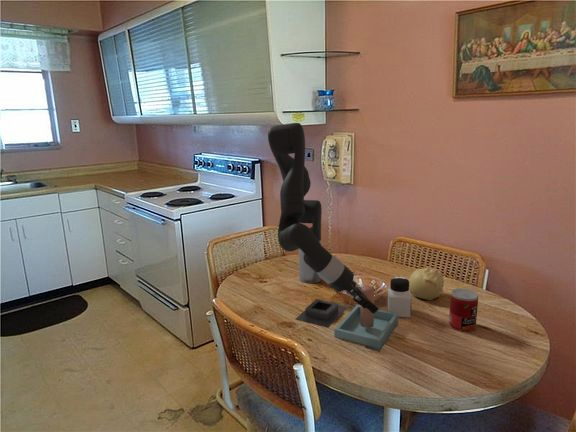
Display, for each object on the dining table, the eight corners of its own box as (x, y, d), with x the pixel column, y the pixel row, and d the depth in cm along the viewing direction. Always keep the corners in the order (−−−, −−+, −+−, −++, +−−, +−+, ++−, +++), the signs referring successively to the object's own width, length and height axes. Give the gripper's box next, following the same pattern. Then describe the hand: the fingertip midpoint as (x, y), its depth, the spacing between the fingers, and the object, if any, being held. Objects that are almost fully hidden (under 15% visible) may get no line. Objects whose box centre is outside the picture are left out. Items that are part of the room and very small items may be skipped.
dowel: (363, 320, 129) (363, 284, 126) (375, 323, 127) (376, 287, 124) (358, 325, 126) (359, 289, 123) (371, 329, 124) (371, 292, 121)
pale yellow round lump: (439, 305, 143) (440, 276, 140) (404, 298, 149) (405, 270, 146) (446, 293, 152) (447, 265, 150) (413, 287, 158) (414, 260, 156)
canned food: (464, 334, 124) (466, 301, 121) (443, 323, 131) (445, 291, 128) (481, 328, 127) (484, 295, 124) (460, 317, 134) (462, 286, 131)
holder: (316, 302, 148) (316, 293, 147) (347, 309, 142) (347, 300, 141) (294, 322, 135) (294, 312, 134) (328, 330, 129) (327, 320, 128)
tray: (356, 314, 138) (356, 305, 137) (397, 323, 131) (398, 313, 130) (334, 339, 123) (334, 329, 122) (379, 351, 116) (380, 340, 115)
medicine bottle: (410, 318, 135) (412, 284, 132) (388, 316, 136) (389, 283, 133) (408, 308, 142) (410, 275, 139) (387, 306, 143) (388, 274, 140)
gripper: (348, 272, 114) (390, 309, 118) (338, 256, 128) (376, 289, 132) (329, 291, 115) (371, 327, 119) (322, 272, 129) (359, 305, 133)
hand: (373, 307), depth 125 cm, fingers closed on dowel, 3 cm apart
